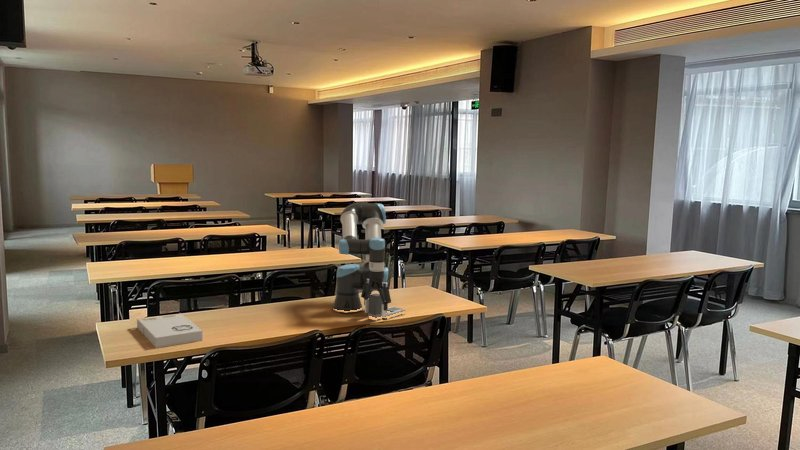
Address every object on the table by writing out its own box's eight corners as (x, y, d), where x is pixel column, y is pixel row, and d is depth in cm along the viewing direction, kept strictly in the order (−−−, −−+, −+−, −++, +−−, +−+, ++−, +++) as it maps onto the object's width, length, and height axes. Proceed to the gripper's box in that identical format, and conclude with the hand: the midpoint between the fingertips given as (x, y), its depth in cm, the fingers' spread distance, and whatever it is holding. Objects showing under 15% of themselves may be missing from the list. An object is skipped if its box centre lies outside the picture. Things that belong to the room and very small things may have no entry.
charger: (368, 319, 285) (368, 295, 283) (375, 317, 288) (375, 293, 287) (375, 321, 281) (376, 296, 280) (382, 319, 285) (383, 295, 284)
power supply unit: (180, 322, 272) (180, 312, 272) (202, 342, 246) (202, 330, 245) (137, 329, 261) (136, 318, 260) (156, 349, 235) (155, 337, 234)
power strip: (373, 315, 291) (373, 310, 290) (391, 310, 301) (392, 305, 301) (386, 319, 285) (387, 314, 284) (405, 314, 295) (405, 308, 295)
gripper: (354, 267, 287) (353, 311, 289) (389, 274, 272) (388, 320, 275) (364, 265, 292) (363, 308, 295) (399, 272, 278) (398, 317, 280)
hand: (375, 314), depth 285 cm, fingers open, 10 cm apart
